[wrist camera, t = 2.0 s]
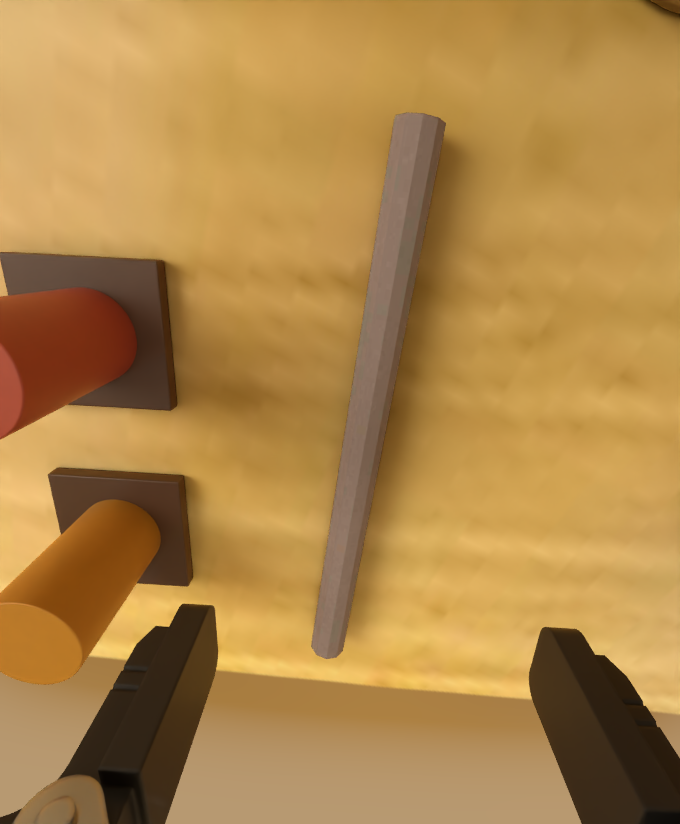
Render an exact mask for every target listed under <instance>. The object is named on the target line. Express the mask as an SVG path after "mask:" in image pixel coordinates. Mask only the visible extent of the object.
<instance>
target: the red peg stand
mask: <svg viewBox="0 0 680 824" xmlns="http://www.w3.org/2000/svg"><path fill="white" fill-rule="evenodd" d="M0 260H1V265H2V269H3V274H4V278H5V283H6V287H7V292H8V296H2V297H0V439H2V438H4V437H6V436H8V435H10V434H12V433H14V432H16V431H18V430H20V429H21V428H23V427H25V426H27V425H29V424H31V423H33V422H35V421H37V420H39V419H40V418H42V417H44V416H46V415H48V414H50V413H52V412H54V411H56V410H58V409H59V408H61V407H63V406H65V405H84V406H101V407H118V408H135V409H152V410H169V411H171V410H172V409H174V408H175V407H176V406H177V399H176V389H175V378H174V367H173V356H172V345H171V335H170V324H169V313H168V302H167V291H166V281H165V270H164V261H162V260H150V259H131V258H112V257H93V256H75V255H56V254H37V253H19V252H0Z"/></svg>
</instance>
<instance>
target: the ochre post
mask: <svg viewBox="0 0 680 824" xmlns="http://www.w3.org/2000/svg"><path fill="white" fill-rule="evenodd" d="M48 478H49V482H50V487H51V491H52V496H53V500H54V505H55V509H56V514H57V518H58V523H59V527H60V532H61V535H60V536H59V537H58V538H57V539H56V540H55V541H54V542H53V543H52V544H51V545H50V546H49V547H48V548H47V549H46V550H45V551H44V552H43V553H42V554H41V555H40V556H39V557H37V558H36V559H35V560H34V561H33V562H32V563H31V564H30V565H29V566H28V567H27V568H26V569H25V570H24V571H23V572H22V573H21V574H20V575H19V576H18V577H17V578H16V579H15V580H13V581H12V582H11V583H10V584H9V585H8V586H7V587H6V588H5V589H4V590H3V591H2V592H1V593H0V672H2V673H3V674H5V675H7V676H9V677H11V678H14V679H16V680H20V681H23V682H27V683H32V684H44V685H46V684H55V683H59V682H62V681H65V680H67V679H69V678H70V677H72V676H73V675H75V674H76V673H77V672H78V670H79V669H80V667H81V666H82V665H83V663H84V662H85V660H86V659H87V657H88V656H89V654H90V653H91V651H92V650H93V648H94V647H95V645H96V644H97V642H98V641H99V639H100V638H101V636H102V635H103V633H104V632H105V630H106V629H107V627H108V625H109V624H110V622H111V621H112V619H113V618H114V616H115V615H116V613H117V612H118V610H119V609H120V607H121V606H122V604H123V603H124V601H125V600H126V598H127V597H128V595H129V594H130V592H131V591H132V589H133V588H134V586H135V585H136V583H142V584H157V585H172V586H189V584H190V582H191V580H192V578H193V573H192V562H191V551H190V540H189V529H188V518H187V508H186V497H185V486H184V476H183V475H167V474H150V473H134V472H118V471H102V470H85V469H69V468H56V469H55V470H53V471H52V472H51V473H49V474H48Z"/></svg>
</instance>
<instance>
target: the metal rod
mask: <svg viewBox="0 0 680 824" xmlns="http://www.w3.org/2000/svg"><path fill="white" fill-rule="evenodd" d="M445 126H446V123H445V122H444V121H442V120H441V119H440V118H438V117H434V116H431V115H427V114H423V113H403V114H399V115H396V116H395V119H394V125H393V131H392V137H391V144H390V150H389V156H388V163H387V169H386V175H385V182H384V188H383V194H382V201H381V207H380V213H379V220H378V226H377V232H376V238H375V245H374V251H373V257H372V264H371V270H370V276H369V283H368V289H367V295H366V302H365V308H364V314H363V321H362V327H361V333H360V340H359V346H358V352H357V358H356V365H355V371H354V377H353V384H352V390H351V396H350V403H349V409H348V415H347V422H346V428H345V434H344V441H343V447H342V453H341V460H340V466H339V472H338V479H337V485H336V491H335V497H334V504H333V510H332V516H331V523H330V529H329V535H328V542H327V548H326V554H325V561H324V567H323V573H322V580H321V586H320V592H319V599H318V605H317V611H316V617H315V624H314V630H313V636H312V645H311V647H312V648H313V650H314V652H315V653H316V655H318V656H321V657H323V658H325V659H329V658H336V657H337V656H338V655H339V654H340V653H341V652H342V651H343V647H344V642H345V636H346V631H347V626H348V621H349V616H350V611H351V606H352V601H353V596H354V591H355V585H356V580H357V575H358V570H359V565H360V560H361V555H362V550H363V545H364V539H365V534H366V529H367V524H368V519H369V514H370V509H371V504H372V499H373V493H374V488H375V483H376V478H377V473H378V468H379V463H380V458H381V453H382V447H383V442H384V437H385V432H386V427H387V422H388V417H389V412H390V407H391V401H392V396H393V391H394V386H395V381H396V376H397V371H398V366H399V361H400V355H401V350H402V345H403V340H404V335H405V330H406V325H407V320H408V315H409V309H410V304H411V299H412V294H413V289H414V284H415V279H416V274H417V269H418V264H419V258H420V253H421V248H422V243H423V238H424V233H425V228H426V223H427V218H428V212H429V207H430V202H431V197H432V192H433V187H434V182H435V177H436V172H437V166H438V161H439V156H440V151H441V146H442V141H443V136H444V131H445Z"/></svg>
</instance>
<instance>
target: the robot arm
mask: <svg viewBox="0 0 680 824" xmlns="http://www.w3.org/2000/svg"><path fill="white" fill-rule="evenodd" d="M651 1H652V2H653V3H655V4H657V5H659V6H661V7H662V8H664V9H667V10H670V11H672V12H675V13H679V14H680V0H651ZM217 659H218V644H217V631H216V617H215V608H214V606H212V605H196V604H182V605H181V606H180V607H179V609H178V611H177V613H176V615H175V617H174V619H173V621H172V623H171V625H170V627H162V626H155V627H154V628H153V629H152V630H151V631H150V632H149V633H148V634H147V635H146V636H145V637H144V638H143V639H142V640H141V641H140V642H138V643H137V644H136V646H135V648H134V650H133V652H132V653H131V655H130V657H129V659H128V660H127V662H126V664H125V666H124V670H123V671H121V673H120V675H119V676H118V678H117V680H116V682H115V683H114V687H113V689H112V690H110V692H109V694H108V696H107V698H106V699H105V701H104V703H103V705H102V706H101V708H100V710H99V712H98V714H97V715H96V717H95V719H94V720H93V722H92V724H91V726H90V728H89V729H88V731H87V733H86V735H85V736H84V738H83V740H82V742H81V744H80V745H79V747H78V749H77V751H76V752H75V754H74V756H73V758H72V759H71V761H70V763H69V765H68V766H67V768H66V769H65V771H64V772H63V773H62V775H61V776H60V777H59V779H58V780H57V781H55V782H53V783H51V784H50V785H48V786H46V787H45V788H44V789H42V790H41V791H40V792H38V793H37V794H36V795H35V796H34V797H33V798H32V799H31V800H30V801H29V802H28V803H27V804H26V805H25V806H24V807H23V808H22V809H20V810H18V811H16V812H14V813H11V814H9V815H6V816H3V817H0V824H165V822H166V819H167V816H168V813H169V810H170V807H171V804H172V801H173V798H174V795H175V792H176V789H177V786H178V783H179V780H180V777H181V774H182V772H183V769H184V765H185V763H186V759H187V757H188V754H189V751H190V748H191V745H192V741H193V739H194V735H195V733H196V730H197V727H198V724H199V721H200V718H201V715H202V712H203V709H204V705H205V703H206V700H207V697H208V694H209V691H210V688H211V685H212V682H213V679H214V676H215V672H216V667H217ZM529 685H530V692H531V696H532V700H533V703H534V705H535V708H536V710H537V713H538V715H539V718H540V720H541V723H542V725H543V728H544V730H545V733H546V735H547V738H548V740H549V743H550V745H551V748H552V750H553V753H554V755H555V758H556V760H557V763H558V765H559V768H560V770H561V773H562V775H563V778H564V780H565V783H566V785H567V788H568V790H569V793H570V795H571V798H572V800H573V803H574V805H575V808H576V810H577V813H578V815H579V818H580V820H581V823H582V824H680V758H679V757H678V755H677V754H676V752H675V750H674V749H673V747H672V746H671V744H670V743H669V741H668V740H667V738H666V736H665V735H664V733H663V732H662V730H661V729H660V727H657V725H656V721H655V719H654V718H653V716H652V715H651V713H650V712H649V710H648V709H647V707H646V706H644V705H643V701H642V699H641V698H640V696H639V695H638V693H637V692H636V690H635V688H634V687H633V685H632V684H631V682H630V681H629V679H628V678H627V676H626V675H625V674H624V673H622V672H621V671H620V670H619V669H618V668H617V667H616V666H615V665H614V664H613V663H612V662H611V661H610V660H609V659H608V658H607V657H606V656H605V655H595V654H594V652H593V651H592V649H591V647H590V646H589V644H588V642H587V641H586V639H585V637H584V636H583V634H582V633H581V632H580V631H579V630H577V629H567V628H551V627H544V628H542V630H541V632H540V635H539V639H538V642H537V646H536V650H535V653H534V657H533V661H532V664H531V668H530V672H529Z"/></svg>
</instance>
